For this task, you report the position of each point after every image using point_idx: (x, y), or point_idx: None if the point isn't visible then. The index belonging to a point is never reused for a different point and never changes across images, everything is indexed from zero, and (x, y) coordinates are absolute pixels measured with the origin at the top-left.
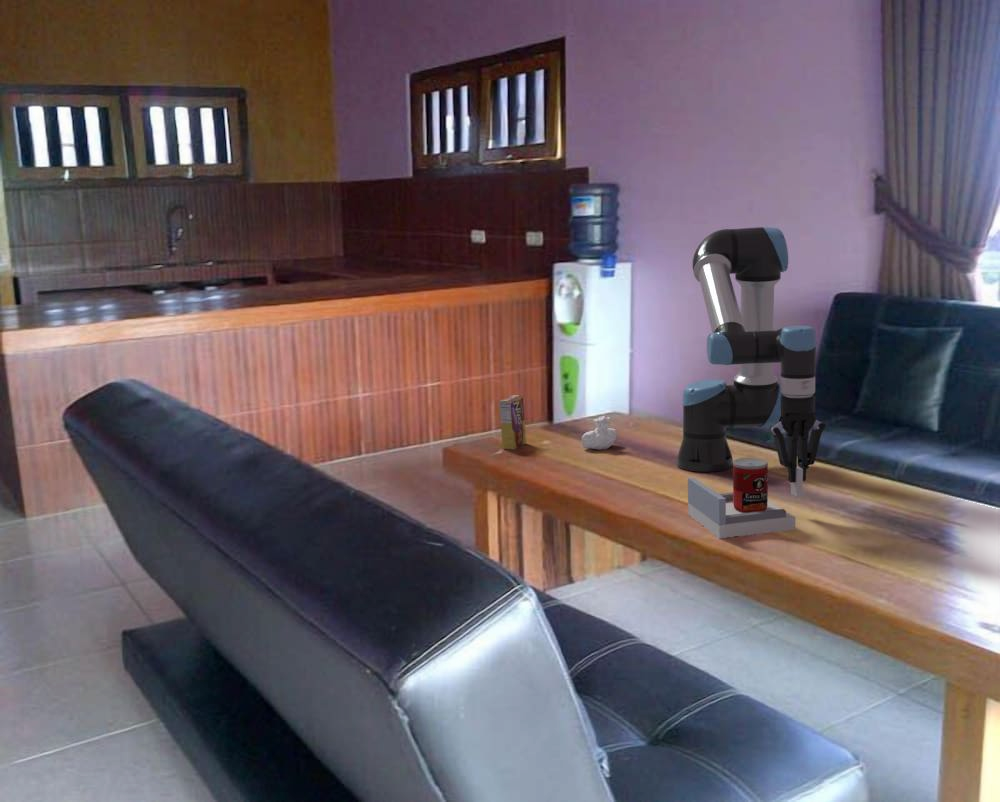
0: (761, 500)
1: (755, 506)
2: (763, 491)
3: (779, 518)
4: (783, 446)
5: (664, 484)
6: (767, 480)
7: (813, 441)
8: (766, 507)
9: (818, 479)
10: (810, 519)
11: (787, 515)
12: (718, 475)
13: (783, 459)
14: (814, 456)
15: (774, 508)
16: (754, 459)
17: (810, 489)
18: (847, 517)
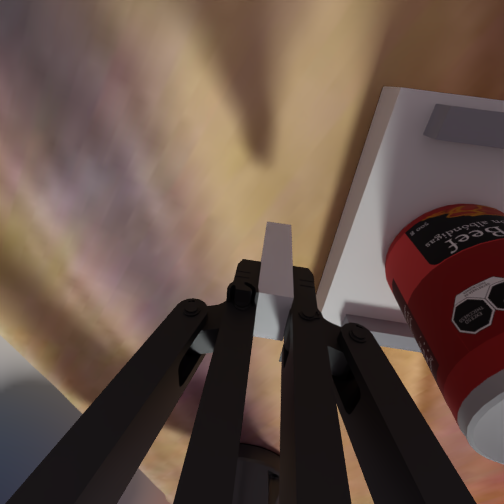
0: (487, 219)
1: (501, 212)
2: (499, 240)
3: (472, 101)
4: (441, 495)
5: None
6: (474, 285)
7: (111, 464)
8: (422, 218)
9: (102, 363)
10: (262, 164)
11: (411, 122)
12: (255, 434)
13: (394, 373)
14: (162, 335)
15: (378, 217)
16: (490, 438)
17: (141, 334)
18: (147, 126)
